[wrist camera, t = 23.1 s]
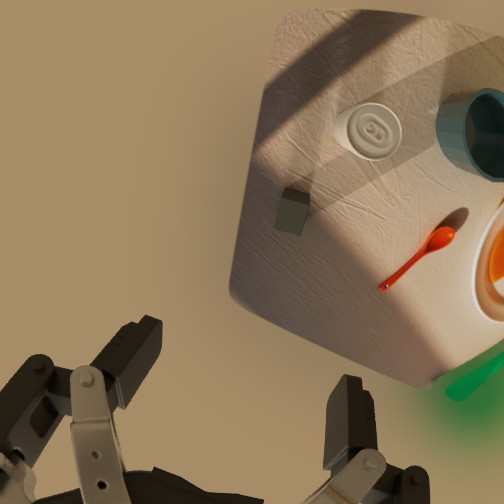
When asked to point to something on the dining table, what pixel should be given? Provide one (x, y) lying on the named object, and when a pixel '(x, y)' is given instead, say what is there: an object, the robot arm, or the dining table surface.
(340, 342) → the dining table surface
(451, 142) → the teal round container
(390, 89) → the dining table surface
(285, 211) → the dark gray rectangular block
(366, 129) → the beverage can
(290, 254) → the dining table surface
